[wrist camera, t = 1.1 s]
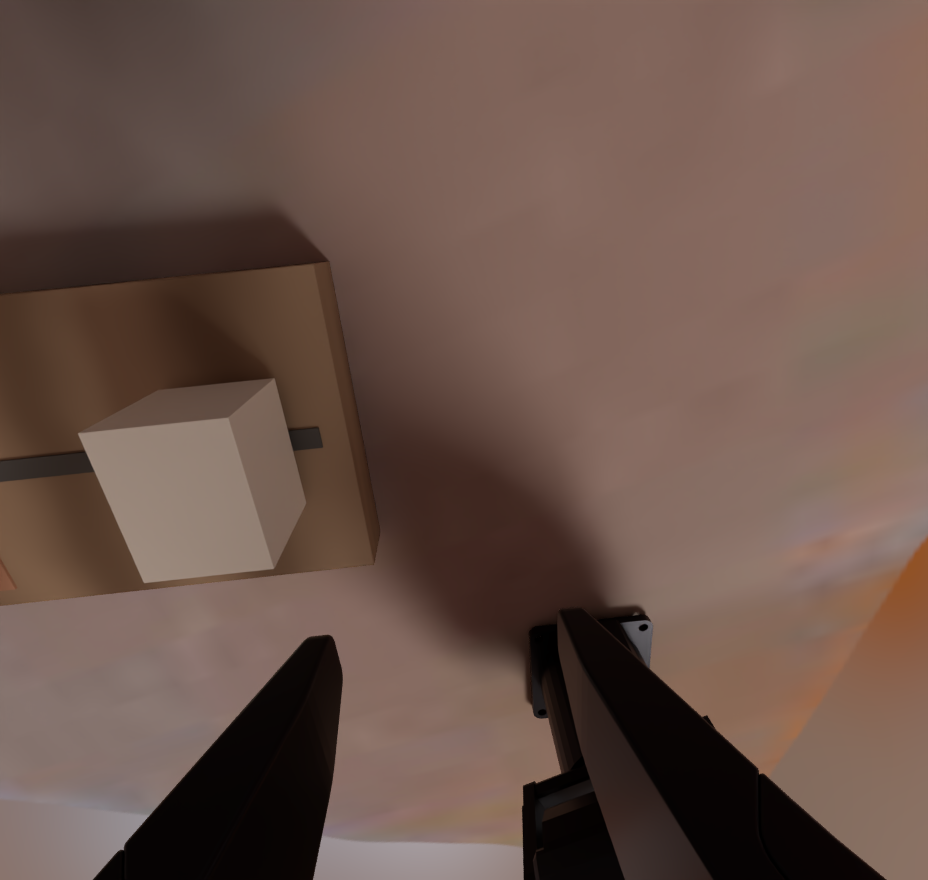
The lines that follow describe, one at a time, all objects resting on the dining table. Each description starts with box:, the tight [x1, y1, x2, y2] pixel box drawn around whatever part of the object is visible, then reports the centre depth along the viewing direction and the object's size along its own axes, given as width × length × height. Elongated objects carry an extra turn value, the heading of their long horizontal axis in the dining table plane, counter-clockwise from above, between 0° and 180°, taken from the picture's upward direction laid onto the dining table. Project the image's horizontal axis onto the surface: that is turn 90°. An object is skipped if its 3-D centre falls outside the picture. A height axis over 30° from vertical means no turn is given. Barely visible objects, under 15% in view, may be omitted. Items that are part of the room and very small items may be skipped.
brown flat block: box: [0, 261, 380, 606], centre depth 19 cm, size 20×12×3 cm, turn 95°
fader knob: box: [78, 378, 306, 583], centre depth 16 cm, size 4×5×4 cm
